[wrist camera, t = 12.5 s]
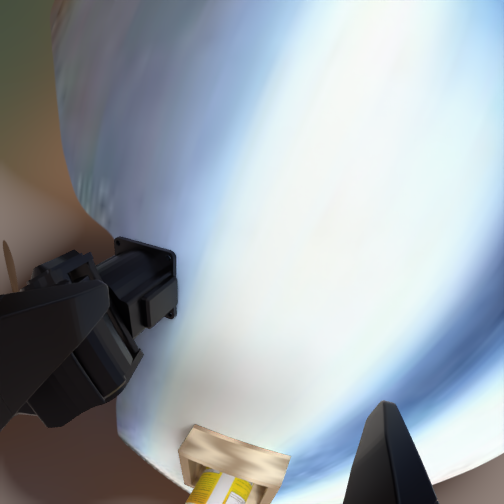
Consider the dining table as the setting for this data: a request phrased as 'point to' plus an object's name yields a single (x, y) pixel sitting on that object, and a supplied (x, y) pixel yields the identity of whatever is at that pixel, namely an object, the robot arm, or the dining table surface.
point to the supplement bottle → (219, 489)
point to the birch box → (232, 462)
